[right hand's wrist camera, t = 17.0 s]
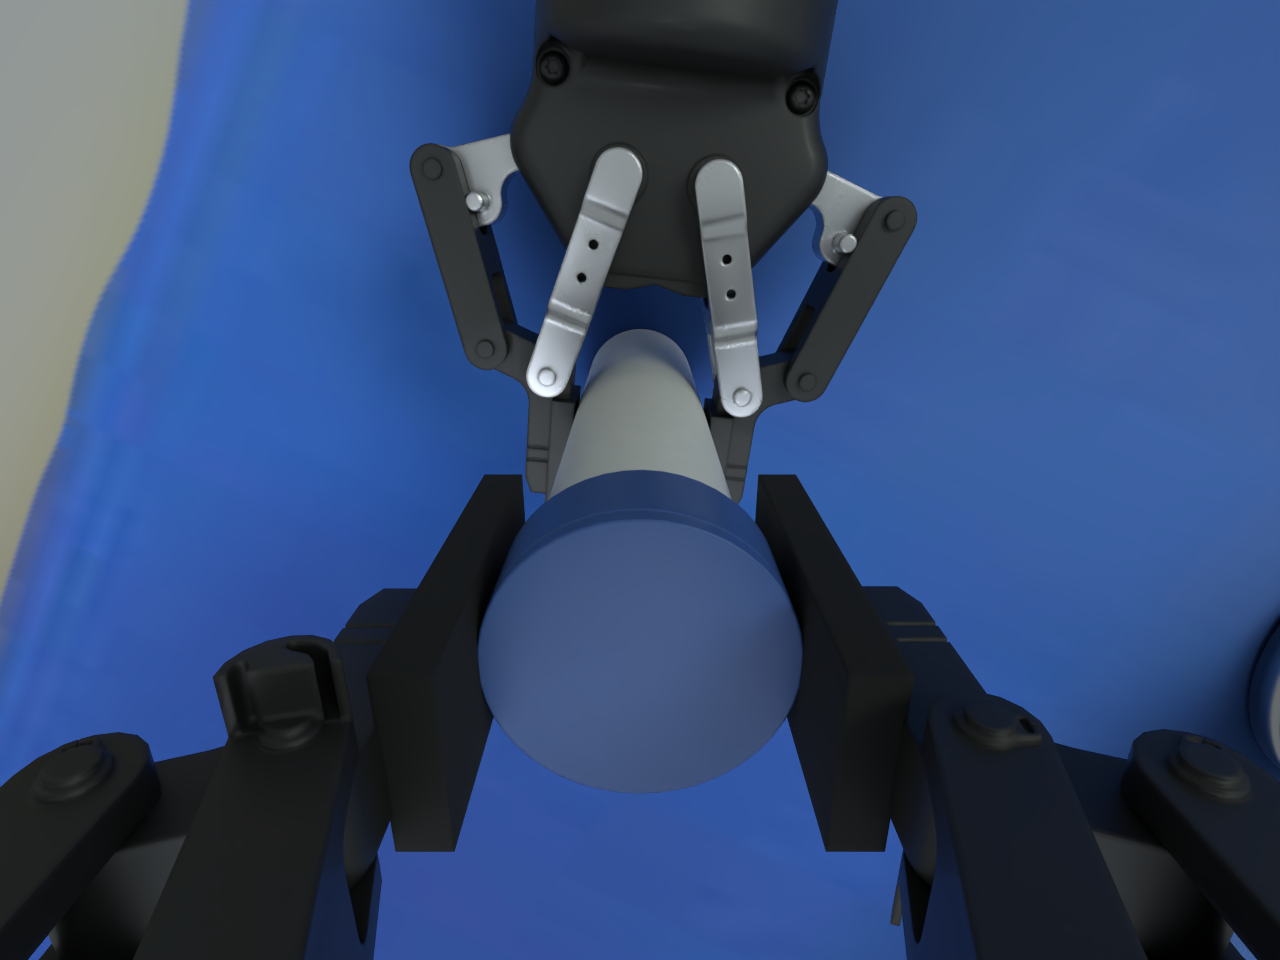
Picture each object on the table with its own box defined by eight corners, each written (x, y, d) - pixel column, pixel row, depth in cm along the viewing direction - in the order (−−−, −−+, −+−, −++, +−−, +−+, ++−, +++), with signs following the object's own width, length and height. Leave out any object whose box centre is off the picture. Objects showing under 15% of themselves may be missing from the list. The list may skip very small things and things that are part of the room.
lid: (615, 409, 11) (609, 450, 9) (836, 578, 12) (873, 646, 10) (448, 617, 12) (413, 690, 10) (660, 752, 13) (663, 840, 11)
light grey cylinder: (631, 307, 27) (616, 477, 10) (711, 372, 28) (828, 633, 11) (569, 387, 28) (456, 668, 11) (647, 447, 29) (659, 793, 12)
